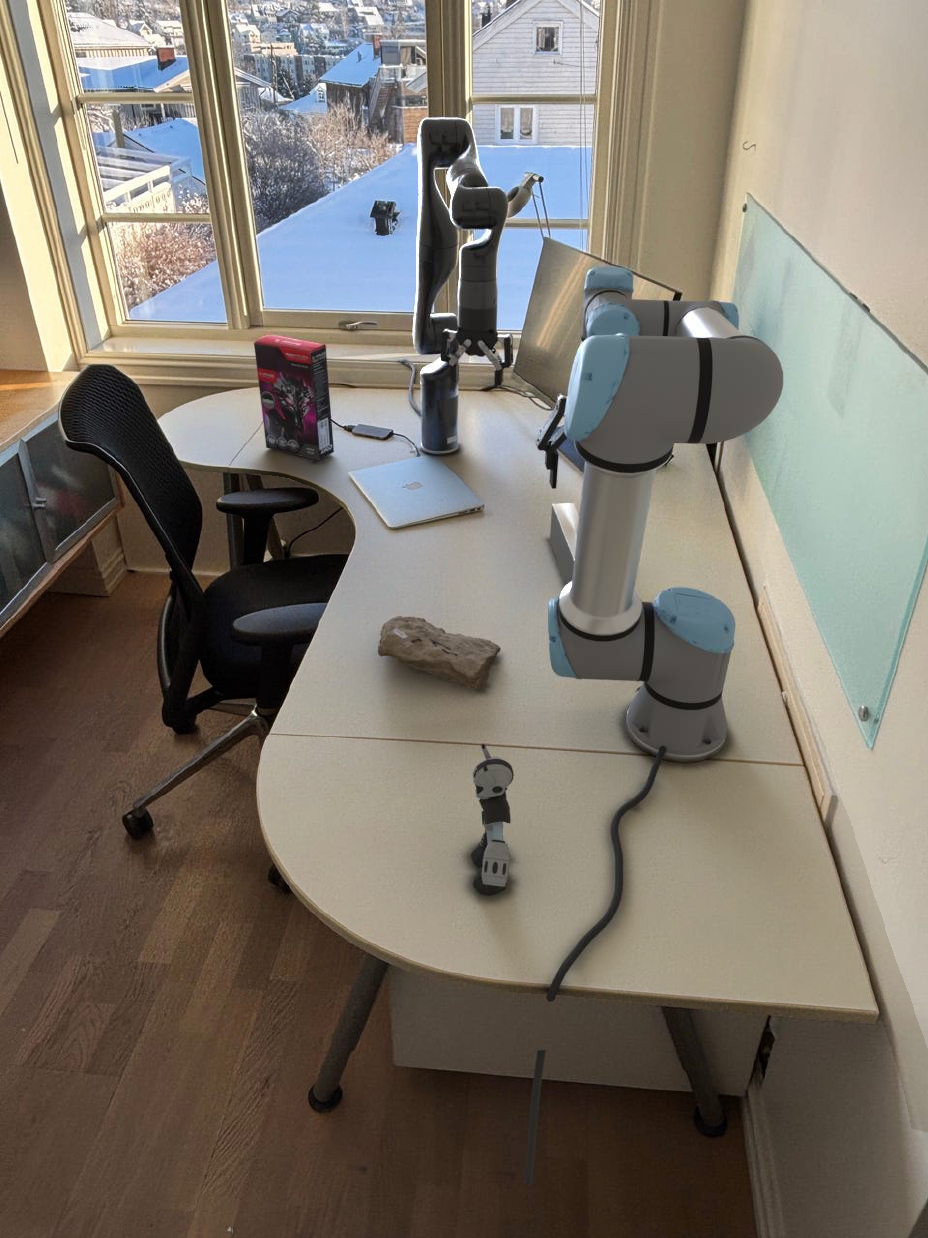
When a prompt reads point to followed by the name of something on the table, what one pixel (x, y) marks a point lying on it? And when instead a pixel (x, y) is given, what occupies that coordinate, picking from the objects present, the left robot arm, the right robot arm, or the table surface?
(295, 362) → the graphics card box
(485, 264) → the left robot arm
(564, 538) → the bar
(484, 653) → the stone
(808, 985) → the table surface
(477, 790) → the robot
